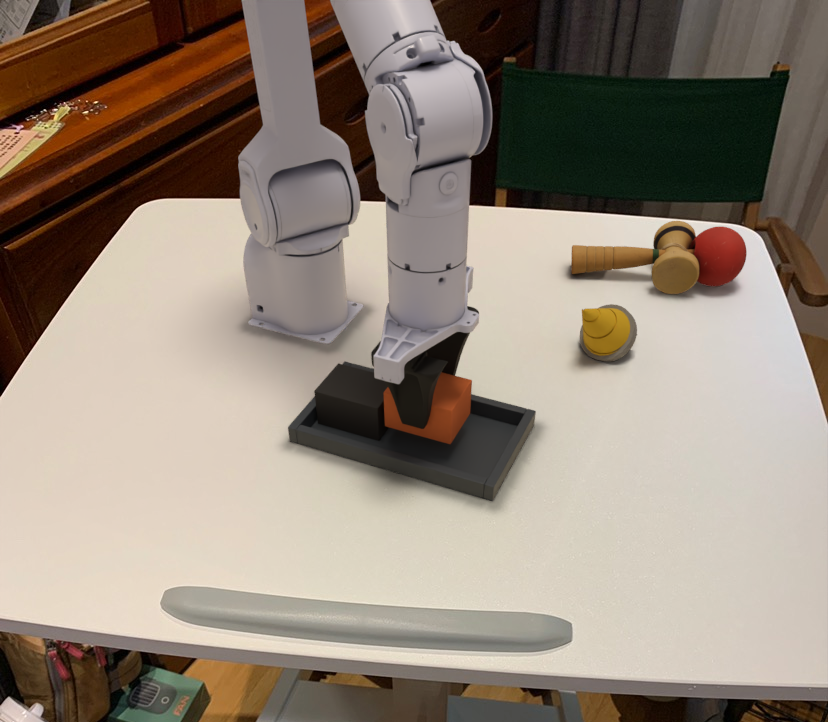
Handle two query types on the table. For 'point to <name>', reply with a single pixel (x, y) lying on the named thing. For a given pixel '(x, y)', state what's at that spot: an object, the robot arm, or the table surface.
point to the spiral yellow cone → (607, 332)
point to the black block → (352, 402)
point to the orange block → (437, 410)
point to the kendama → (673, 257)
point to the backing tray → (433, 446)
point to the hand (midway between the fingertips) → (426, 406)
